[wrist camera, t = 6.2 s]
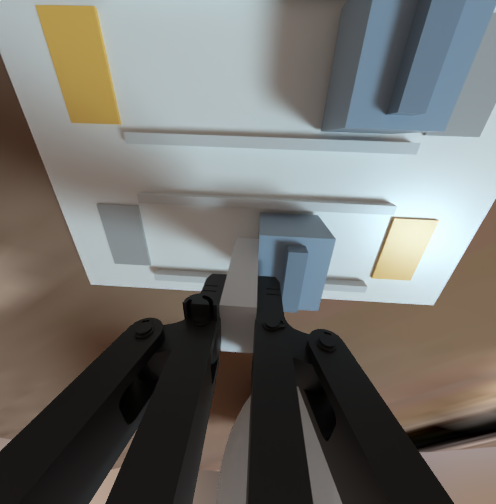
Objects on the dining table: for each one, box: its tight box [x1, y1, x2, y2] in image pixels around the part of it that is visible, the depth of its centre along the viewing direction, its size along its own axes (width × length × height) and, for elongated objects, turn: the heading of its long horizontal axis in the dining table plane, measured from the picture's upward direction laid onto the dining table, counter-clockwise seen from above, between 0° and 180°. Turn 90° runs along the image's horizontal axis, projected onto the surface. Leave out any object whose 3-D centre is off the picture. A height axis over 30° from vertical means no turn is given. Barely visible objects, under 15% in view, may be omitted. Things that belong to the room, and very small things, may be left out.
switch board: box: [0, 0, 496, 305], centre depth 14 cm, size 30×20×3 cm, turn 88°
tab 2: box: [321, 0, 496, 134], centre depth 9 cm, size 4×5×5 cm
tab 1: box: [258, 212, 336, 313], centre depth 14 cm, size 4×5×5 cm
